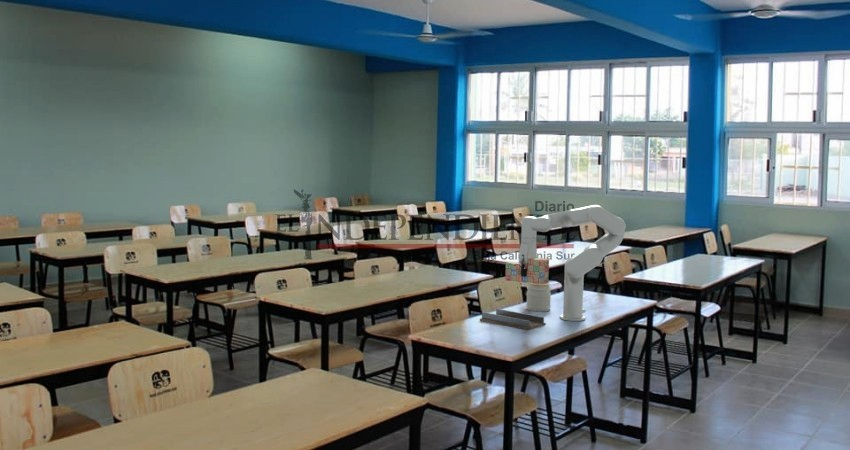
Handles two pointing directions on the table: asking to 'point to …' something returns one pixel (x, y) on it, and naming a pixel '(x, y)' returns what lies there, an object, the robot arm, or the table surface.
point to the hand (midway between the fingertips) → (528, 275)
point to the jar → (538, 297)
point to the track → (513, 319)
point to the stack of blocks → (529, 271)
